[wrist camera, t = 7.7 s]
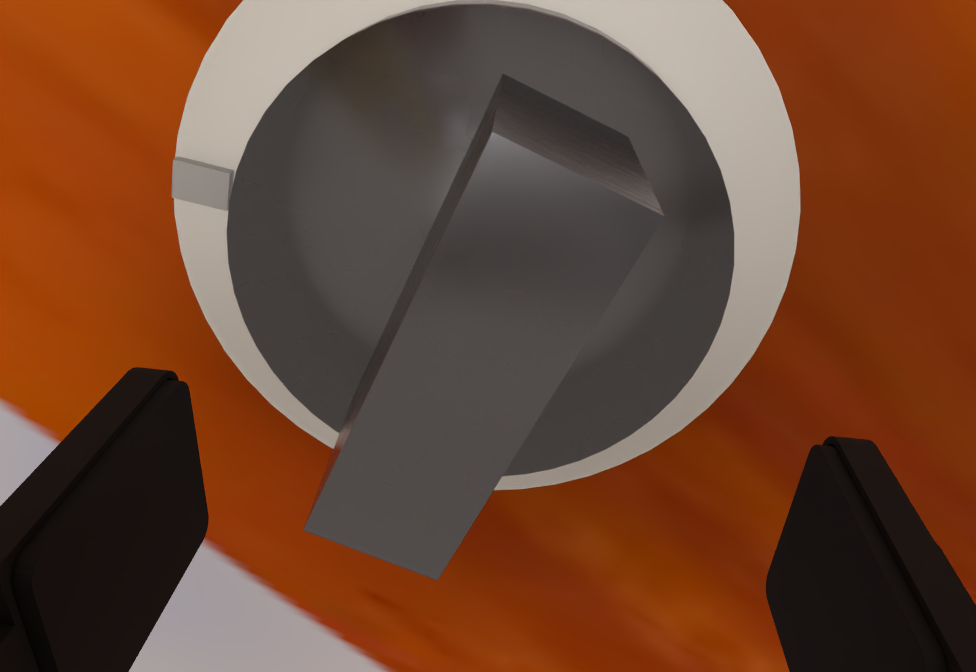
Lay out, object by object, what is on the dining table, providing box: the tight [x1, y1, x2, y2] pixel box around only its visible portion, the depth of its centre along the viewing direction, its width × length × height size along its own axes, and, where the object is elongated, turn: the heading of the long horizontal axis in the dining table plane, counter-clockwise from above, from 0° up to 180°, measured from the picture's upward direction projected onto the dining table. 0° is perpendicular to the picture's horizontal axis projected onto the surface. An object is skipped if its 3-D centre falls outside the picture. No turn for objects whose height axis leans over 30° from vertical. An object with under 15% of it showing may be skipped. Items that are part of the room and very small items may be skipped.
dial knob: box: [227, 0, 734, 580], centre depth 16 cm, size 12×12×6 cm
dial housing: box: [172, 0, 800, 490], centre depth 21 cm, size 16×16×3 cm
